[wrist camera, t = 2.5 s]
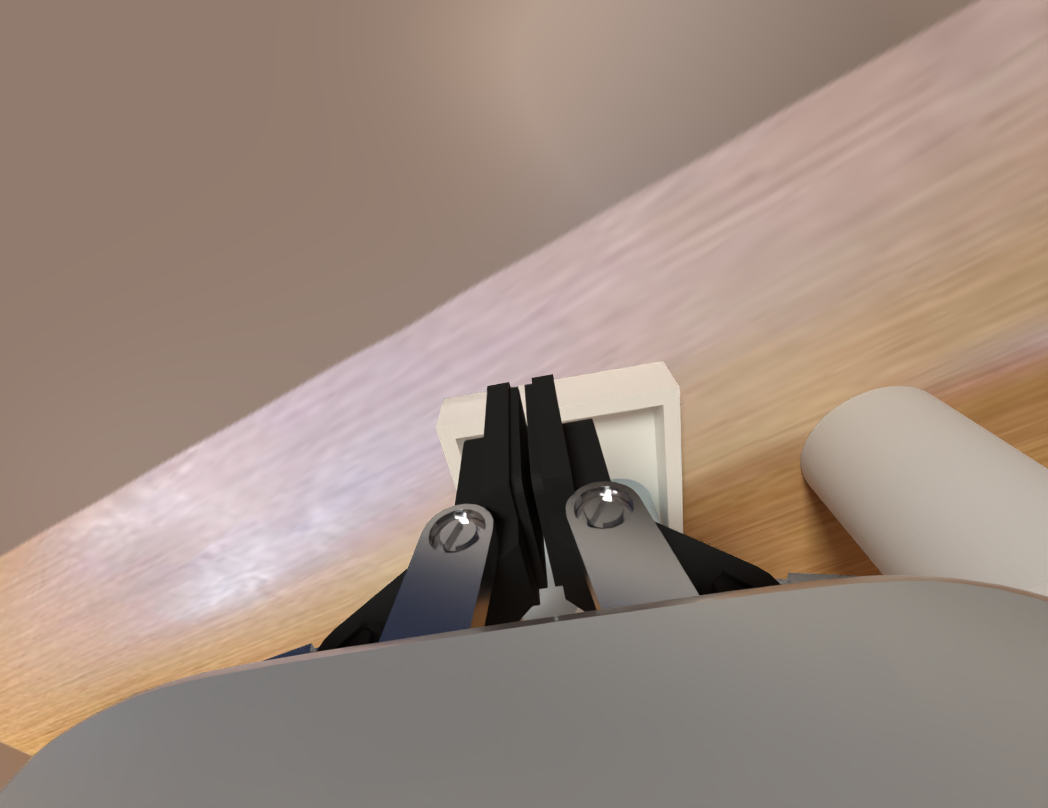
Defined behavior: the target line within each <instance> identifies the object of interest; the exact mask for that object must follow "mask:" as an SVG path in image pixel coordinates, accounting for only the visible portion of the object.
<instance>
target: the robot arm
mask: <svg viewBox="0 0 1048 808" xmlns="http://www.w3.org/2000/svg"><path fill="white" fill-rule="evenodd" d="M524 387H525V401H526V416H527V423H526V419H525V414H524V410H523V405H522V401H521V396H520V392H519V388H518V386H517V387H510V384H509V382H507V383H502V384H496V385H491V386H488V387H487V398H486V411H485V424H484V437H481V438H475V439H470V440H465V441H464V444H463V450H462V458H461V465H460V472H459V479H458V487H457V494H456V501H455V506H452V507H450V508H447V509H444V510H443V511H441V512H440V513H438V514H436V515H435V516H434V517H433V518H432V519H431V520H430V521H429V522H428V523H427V524H426V526H425V528H424V529H423V531H422V533H421V536H420V538H419V541H418V543H417V546H416V548H415V551H414V554H413V556H412V559H411V561H410V564H409V566H408V569H406V570H405V571H404V572H403V573H402V574H400V575H399V576H398V577H397V578H396V579H394V580H393V581H392V582H391V583H390V584H388V585H387V586H386V587H385V588H384V589H382V590H381V591H380V592H379V593H378V594H376V595H375V596H374V597H373V598H372V599H370V600H369V601H368V602H367V603H366V604H364V605H363V606H362V607H361V608H360V609H358V610H357V611H356V612H355V613H354V614H352V615H351V616H350V617H349V618H348V619H346V620H345V621H344V622H343V623H342V624H340V625H339V626H338V627H337V628H336V629H334V630H333V631H332V632H331V633H330V634H329V635H328V637H327V638H326V639H325V640H324V641H323V642H322V644H321V645H320V647H318V648H314V647H313V645H312V644H308V645H305V646H302V647H300V648H297V649H294V650H291V651H288V652H286V653H283V654H280V655H277V656H275V657H272V658H269V659H266V660H263V661H260V662H254V663H248V664H243V665H238V666H233V667H228V668H223V669H218V670H213V671H209V672H204V673H200V674H196V675H193V676H189V677H186V678H182V679H178V680H175V681H171V682H168V683H165V684H162V685H159V686H157V687H154V688H151V689H148V690H146V691H143V692H140V693H138V694H135V695H132V696H130V697H128V698H126V699H124V700H122V701H120V702H118V703H116V704H114V705H111V706H109V707H107V708H105V709H103V710H101V711H99V712H97V713H95V714H93V715H92V716H90V717H88V718H86V719H85V720H83V721H81V722H79V723H78V724H76V725H74V726H73V727H71V728H69V729H68V730H66V731H65V732H63V733H62V734H60V735H59V736H57V737H56V738H54V739H53V740H52V741H50V742H49V743H48V744H47V745H45V746H44V747H43V748H42V749H41V750H39V751H38V752H37V753H36V754H35V755H34V756H32V757H31V759H29V761H27V762H26V764H25V765H23V766H22V768H20V770H18V772H16V774H15V775H14V776H13V777H12V778H11V779H10V780H9V781H8V782H7V783H6V785H5V786H4V787H3V788H2V789H1V790H0V808H1048V597H1047V596H1044V595H1040V594H1037V593H1033V592H1030V591H1026V590H1022V589H1018V588H1013V587H1009V586H1004V585H1000V584H993V583H987V582H980V581H973V580H967V579H960V578H953V577H938V576H922V575H873V576H850V575H827V574H805V573H788V578H787V579H774V578H773V577H772V576H771V575H770V574H769V573H767V572H765V571H764V570H762V569H760V568H759V567H757V566H755V565H752V564H750V563H748V562H746V561H743V560H741V559H739V558H737V557H734V556H732V555H730V554H728V553H725V552H723V551H721V550H718V549H716V548H714V547H712V546H709V545H707V544H705V543H703V542H700V541H698V540H696V539H694V538H691V537H689V536H687V535H685V534H682V533H680V532H678V531H675V530H673V529H671V528H669V527H666V526H664V525H662V524H660V523H657V522H655V521H654V520H653V518H652V516H651V515H650V513H649V511H648V510H647V508H646V506H645V505H644V503H643V501H642V500H641V498H640V497H639V495H638V494H637V493H636V492H635V491H634V490H633V489H631V488H630V487H628V486H626V485H624V484H621V483H617V482H611V480H610V476H609V473H608V469H607V466H606V463H605V459H604V456H603V452H602V449H601V446H600V442H599V439H598V435H597V432H596V429H595V425H594V422H593V419H592V418H590V419H585V420H579V421H573V422H567V423H562V421H561V416H560V410H559V405H558V400H557V394H556V389H555V384H554V378H553V374H552V375H546V376H540V377H535V378H532V384H528V385H524ZM544 540H545V545H546V549H547V553H548V557H549V562H550V566H551V570H552V575H553V579H554V583H555V587H558V586H563V590H564V595H565V599H566V600H567V601H569V602H571V603H572V604H574V605H575V606H577V607H578V608H580V609H581V610H583V611H584V612H580V613H573V614H566V615H559V616H552V617H545V618H538V619H532V620H525V621H523V616H524V615H525V614H526V613H527V612H528V611H529V610H530V609H531V608H532V606H538V605H540V592H539V589H545V588H548V580H547V569H546V558H545V547H544Z"/></svg>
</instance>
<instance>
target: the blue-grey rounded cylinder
mask: <svg viewBox="0 0 1048 808" xmlns="http://www.w3.org/2000/svg"><path fill="white" fill-rule="evenodd" d="M544 547H545V558H546V569H547V580H548V588H545V589H539V592H540V605H538V606H532V608H531V609H530V610H529V611H528V612H527V613H526V614H525V615H524V616H523V621H525V620H532V619H538V618H545V617H552V616H559V615H566V614H573V613H575V611H576V610H577V608H578V607H577V606H575V605H574V604H572V603H571V602H569V601H567V600H566V599H565V595H564V590H563V586H558V587H555V583H554V579H553V575H552V570H551V566H550V562H549V557H548V553H547V549H546V545H545V540H544Z"/></svg>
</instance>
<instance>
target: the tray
mask: <svg viewBox="0 0 1048 808" xmlns="http://www.w3.org/2000/svg"><path fill="white" fill-rule="evenodd" d="M554 384H555V389H556V394H557V400H558V405H559V410H560V416H561V421H562V423H567V422H573V421H579V420H585V419H590V418H592V419H593V422H594V425H595V429H596V432H597V435H598V439H599V442H600V446H601V449H602V452H603V456H604V459H605V463H606V466H607V469H608V473H609V476H610V480H612V479H629V480H633V481H636V482H638V483H640V484H642V485H643V486H644V487H645V488H646V489H647V490H648V491H649V493H650V494H651V497H652V500H653V503H654V505H655V508H656V511H657V514H658V516H659V519H660V522H661V524H662V525H664V526H666V527H669V528H671V529H673V530H675V531H678V532H680V533H682V534H683V504H682V462H681V421H680V387H679V386H678V384H677V383H676V381H675V380H674V378H673V376H672V375H671V373H670V372H669V370H668V368H667V367H666V365H665V364H664V362H663V361H661V362H655V363H649V364H643V365H637V366H632V367H626V368H620V369H614V370H608V371H602V372H597V373H591V374H585V375H579V376H573V377H567V378H562V379H556V380H554ZM527 385H528V384H527ZM515 387H517V386H515ZM518 388H519V392H520V396H521V401H522V405H523V410H524V414H525V419H526V423H527V416H526V401H525V387H524V385H521V386H518ZM486 398H487V391H486V392H480V393H474V394H468V395H462V396H457V397H451V398H445V399H444V400H443V404H442V407H441V411H440V415H439V418H438V422H437V425H436V431H437V434H438V437H439V440H440V443H441V446H442V449H443V452H444V455H445V458H446V461H447V464H448V466H449V469H450V472H451V475H452V478H453V481H454V484H455V487H456V490H457V487H458V479H459V472H460V465H461V458H462V450H463V444H464V441H465V440H470V439H475V438H481V437H484V424H485V411H486ZM580 612H584V611H583V610H581V609H580V608H577V610H576V611H575V613H580Z"/></svg>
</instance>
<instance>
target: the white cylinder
mask: <svg viewBox="0 0 1048 808" xmlns="http://www.w3.org/2000/svg"><path fill="white" fill-rule="evenodd" d="M800 464H801V471H802V474H803V477H804V479H805V480H806V482H807V483H808V485H809V486H810V487H811V488H812V489H813V491H814V492H815V493H816V494H817V495H818V497H819V498H820V499H821V500H822V502H823V503H824V504H825V505H826V506H827V508H828V509H829V510H830V511H831V512H832V514H833V515H834V516H835V517H836V519H837V520H838V521H839V522H840V523H841V525H842V526H843V527H844V528H845V529H846V531H847V532H848V533H849V534H850V536H851V537H852V538H853V539H854V540H855V542H856V543H857V544H858V545H859V547H860V548H861V549H862V550H863V551H864V553H865V554H866V555H867V556H868V557H869V559H870V560H871V561H872V562H873V564H874V565H875V566H876V567H877V568H878V570H879V571H880V572H881V573H882V574H883V575H922V576H938V577H953V578H960V579H967V580H973V581H980V582H987V583H993V584H1000V585H1004V586H1009V587H1013V588H1018V589H1022V590H1026V591H1030V592H1033V593H1037V594H1040V595H1044V596H1047V597H1048V469H1047V468H1045V467H1044V466H1042V465H1041V464H1039V463H1038V462H1036V461H1034V460H1033V459H1031V458H1030V457H1028V456H1027V455H1025V454H1024V453H1022V452H1020V451H1019V450H1017V449H1016V448H1014V447H1013V446H1011V445H1009V444H1008V443H1006V442H1005V441H1003V440H1002V439H1000V438H998V437H997V436H995V435H994V434H992V433H991V432H989V431H987V430H986V429H984V428H983V427H981V426H980V425H978V424H976V423H975V422H973V421H972V420H970V419H969V418H967V417H965V416H964V415H962V414H961V413H959V412H958V411H956V410H954V409H953V408H951V407H950V406H948V405H947V404H945V403H943V402H942V401H940V400H939V399H937V398H936V397H934V396H933V395H931V394H929V393H928V392H926V391H923V390H921V389H918V388H913V387H907V386H891V387H883V388H878V389H874V390H871V391H868V392H865V393H862V394H860V395H857V396H855V397H853V398H851V399H849V400H847V401H845V402H844V403H842V404H840V405H839V406H837V407H836V408H835V409H833V410H832V411H831V412H829V413H828V414H827V415H826V416H825V417H824V418H823V419H822V420H821V421H820V422H819V423H818V424H817V425H816V426H815V428H814V429H813V430H812V432H811V433H810V435H809V436H808V438H807V440H806V442H805V444H804V447H803V450H802V454H801V462H800Z"/></svg>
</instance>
